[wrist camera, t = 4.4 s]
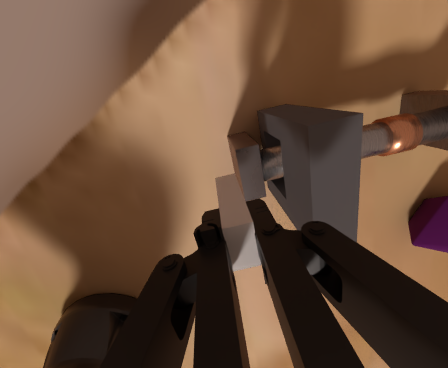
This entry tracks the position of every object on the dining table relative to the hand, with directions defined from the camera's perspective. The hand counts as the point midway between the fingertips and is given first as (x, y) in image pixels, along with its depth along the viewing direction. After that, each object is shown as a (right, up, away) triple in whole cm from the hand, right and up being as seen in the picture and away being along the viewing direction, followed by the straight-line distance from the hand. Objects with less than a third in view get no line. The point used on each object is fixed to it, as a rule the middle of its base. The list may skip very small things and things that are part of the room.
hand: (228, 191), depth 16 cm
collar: (+5, +5, +8) cm, 11 cm away
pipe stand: (+11, +6, +8) cm, 15 cm away
